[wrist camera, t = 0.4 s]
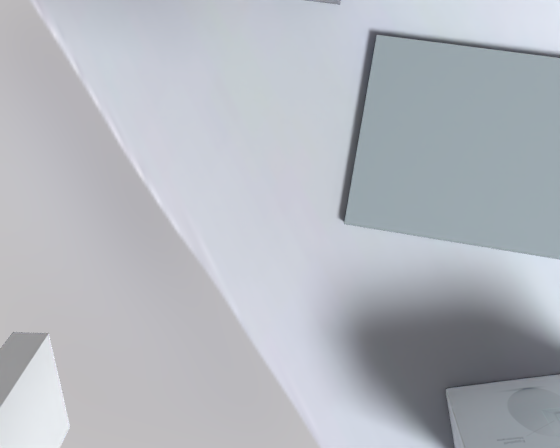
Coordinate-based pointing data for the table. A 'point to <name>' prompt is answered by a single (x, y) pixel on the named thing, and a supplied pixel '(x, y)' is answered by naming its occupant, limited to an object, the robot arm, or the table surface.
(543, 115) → the mat
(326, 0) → the charging dock
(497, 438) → the skincare box
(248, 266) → the table surface
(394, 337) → the table surface
